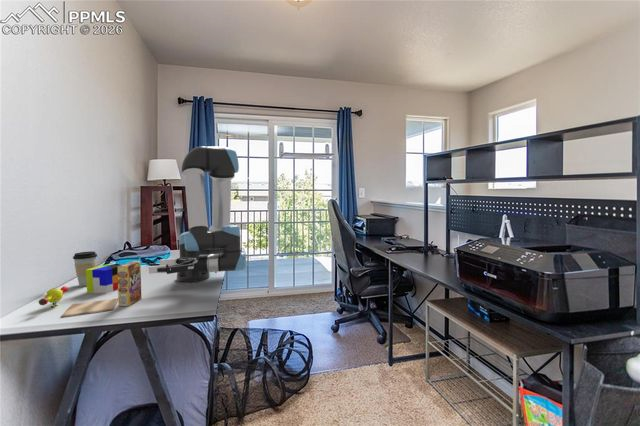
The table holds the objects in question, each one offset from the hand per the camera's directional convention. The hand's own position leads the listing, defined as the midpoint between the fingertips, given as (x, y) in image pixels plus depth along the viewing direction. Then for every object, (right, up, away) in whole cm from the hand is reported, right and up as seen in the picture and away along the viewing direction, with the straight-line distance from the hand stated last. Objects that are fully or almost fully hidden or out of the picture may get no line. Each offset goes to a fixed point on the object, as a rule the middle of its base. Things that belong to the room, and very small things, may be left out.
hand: (154, 266), depth 134 cm
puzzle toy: (-26, -12, +10) cm, 31 cm away
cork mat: (-16, -13, -14) cm, 25 cm away
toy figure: (-32, -13, -11) cm, 37 cm away
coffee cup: (-41, -12, +19) cm, 47 cm away
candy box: (-5, -13, -8) cm, 16 cm away
